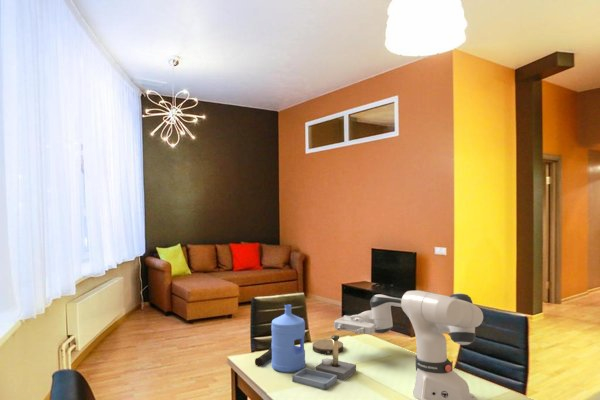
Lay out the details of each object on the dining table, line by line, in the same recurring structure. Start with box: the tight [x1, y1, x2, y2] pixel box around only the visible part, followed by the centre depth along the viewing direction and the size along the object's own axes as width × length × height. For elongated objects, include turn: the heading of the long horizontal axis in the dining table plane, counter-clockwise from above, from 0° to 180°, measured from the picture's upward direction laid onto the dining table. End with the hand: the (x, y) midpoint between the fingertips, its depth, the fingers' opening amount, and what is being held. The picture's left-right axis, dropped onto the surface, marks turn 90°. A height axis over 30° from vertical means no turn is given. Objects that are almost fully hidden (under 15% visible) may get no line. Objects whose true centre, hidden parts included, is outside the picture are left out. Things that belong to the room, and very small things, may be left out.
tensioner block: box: [314, 357, 357, 381], centre depth 177 cm, size 14×12×4 cm
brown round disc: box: [312, 338, 344, 356], centre depth 208 cm, size 16×16×3 cm
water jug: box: [270, 304, 306, 373], centre depth 185 cm, size 16×16×28 cm
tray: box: [291, 367, 338, 391], centre depth 168 cm, size 16×10×2 cm, turn 57°
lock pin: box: [331, 334, 340, 368], centre depth 177 cm, size 3×3×16 cm
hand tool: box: [254, 346, 272, 367], centre depth 194 cm, size 19×4×5 cm, turn 155°
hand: (347, 330), depth 188 cm, fingers open, 8 cm apart
